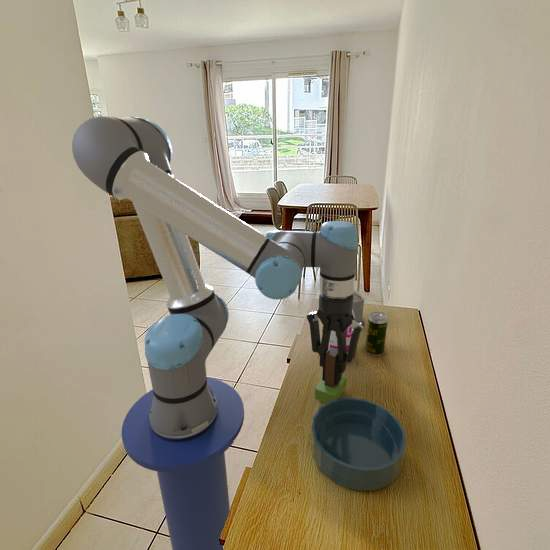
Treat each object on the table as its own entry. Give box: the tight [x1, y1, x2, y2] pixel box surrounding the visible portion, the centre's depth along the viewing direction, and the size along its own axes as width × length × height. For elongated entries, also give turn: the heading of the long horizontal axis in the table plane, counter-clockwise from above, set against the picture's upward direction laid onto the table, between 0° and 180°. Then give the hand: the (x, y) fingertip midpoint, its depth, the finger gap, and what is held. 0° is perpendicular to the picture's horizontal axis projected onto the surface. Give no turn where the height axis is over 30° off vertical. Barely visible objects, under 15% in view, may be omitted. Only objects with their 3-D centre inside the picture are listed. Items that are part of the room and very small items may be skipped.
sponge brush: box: [314, 347, 348, 404], centre depth 86 cm, size 8×5×12 cm, turn 149°
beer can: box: [364, 311, 389, 357], centre depth 103 cm, size 5×5×12 cm
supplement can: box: [327, 310, 355, 354], centre depth 102 cm, size 8×8×15 cm
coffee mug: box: [353, 289, 365, 324], centre depth 119 cm, size 13×10×10 cm
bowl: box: [310, 397, 407, 492], centre depth 72 cm, size 18×18×6 cm
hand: (331, 379), depth 87 cm, fingers closed on sponge brush, 2 cm apart
